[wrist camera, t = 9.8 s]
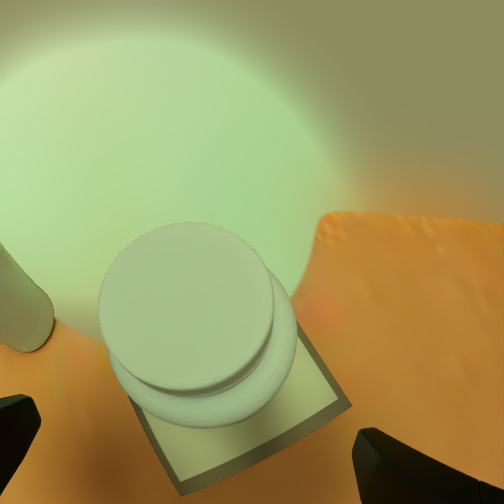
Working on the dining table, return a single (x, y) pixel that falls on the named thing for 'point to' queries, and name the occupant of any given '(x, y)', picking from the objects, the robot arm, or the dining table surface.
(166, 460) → the stand
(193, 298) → the supplement bottle
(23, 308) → the drinking glass
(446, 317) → the dining table surface
